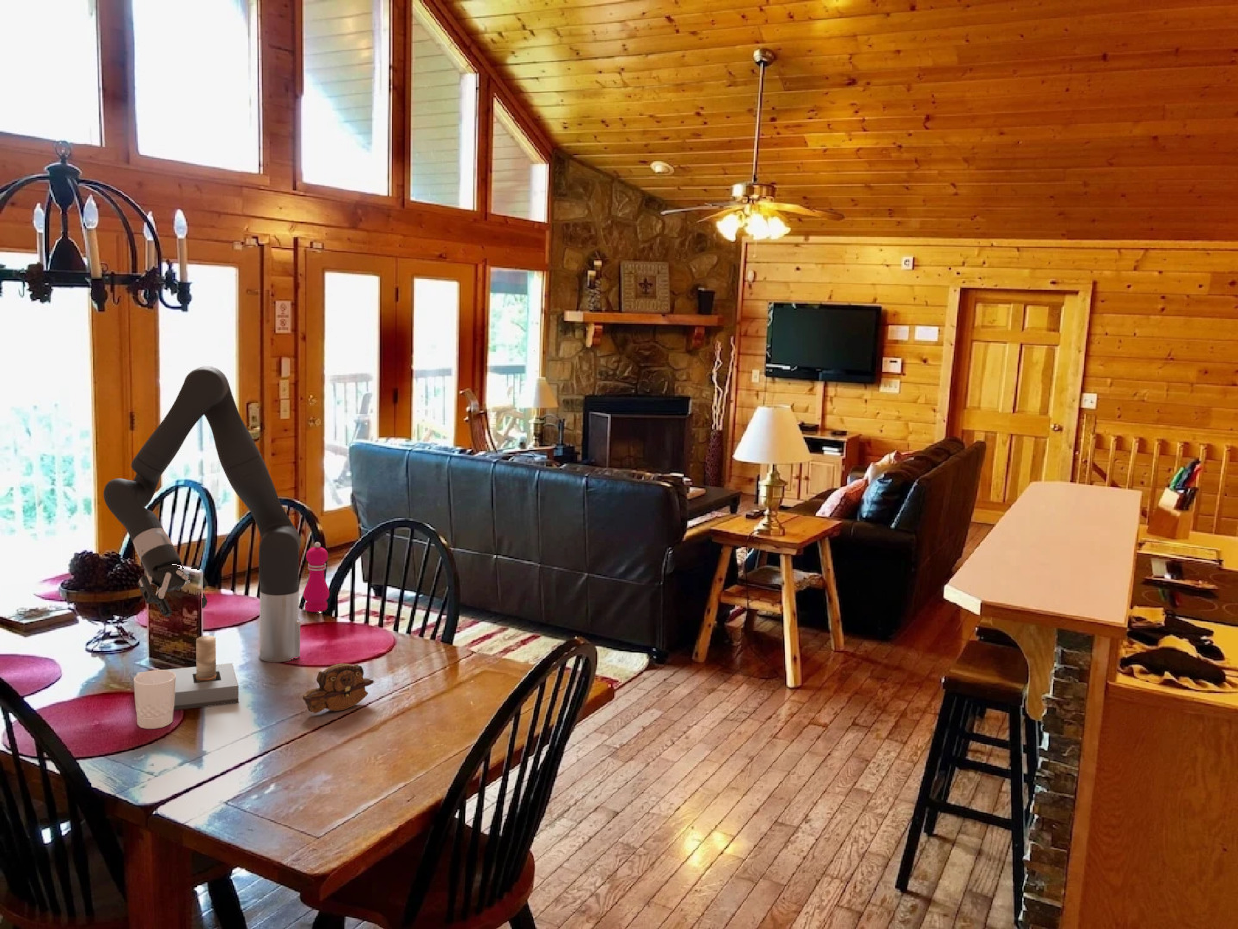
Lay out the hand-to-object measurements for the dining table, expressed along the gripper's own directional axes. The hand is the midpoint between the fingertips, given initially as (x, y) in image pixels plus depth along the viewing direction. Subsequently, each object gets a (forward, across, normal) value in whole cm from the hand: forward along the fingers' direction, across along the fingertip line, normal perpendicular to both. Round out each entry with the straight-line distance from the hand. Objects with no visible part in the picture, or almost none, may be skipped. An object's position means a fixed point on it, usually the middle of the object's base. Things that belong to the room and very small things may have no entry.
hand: (187, 610), depth 217 cm
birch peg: (+17, 0, +7) cm, 18 cm away
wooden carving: (+38, +14, -12) cm, 42 cm away
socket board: (+16, -4, +9) cm, 19 cm away
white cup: (+21, -15, +4) cm, 27 cm away
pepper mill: (-3, +56, +29) cm, 63 cm away
